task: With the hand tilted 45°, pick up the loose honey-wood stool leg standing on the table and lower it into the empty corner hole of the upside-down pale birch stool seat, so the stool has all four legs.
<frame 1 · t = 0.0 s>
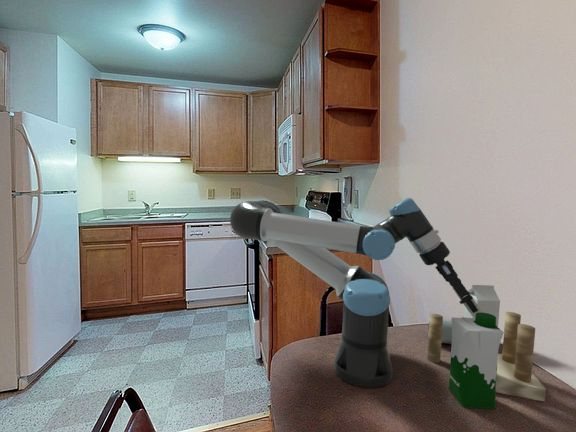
hand: (475, 312, 88), 15 cm above the table, tool tilted 35°, fingers open, 12 cm apart
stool: (494, 376, 84), on the table
loose leg: (433, 359, 92), on the table
ceramic mug: (440, 341, 105), on the table
milk carton: (479, 342, 105), on the table
soya milk: (470, 399, 74), on the table
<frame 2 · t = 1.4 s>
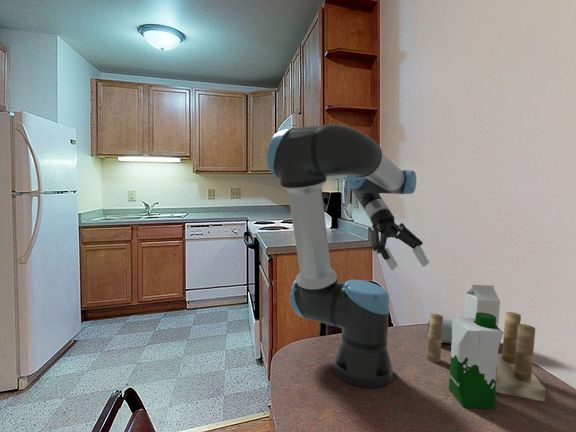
hand: (410, 266, 99), 25 cm above the table, tool tilted 45°, fingers open, 13 cm apart
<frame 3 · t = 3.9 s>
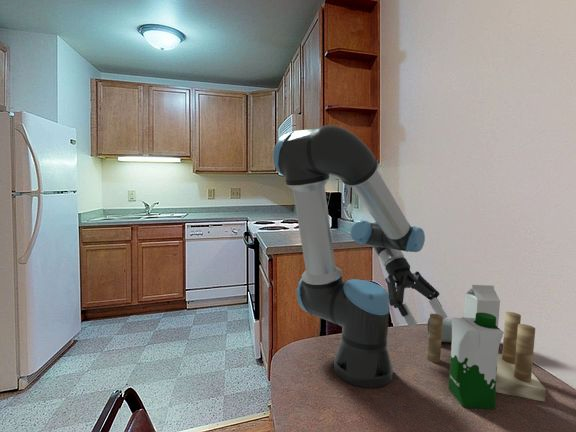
hand: (429, 322, 95), 9 cm above the table, tool tilted 45°, fingers open, 13 cm apart
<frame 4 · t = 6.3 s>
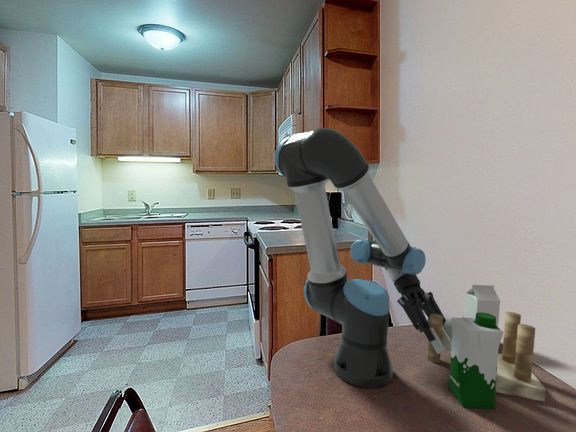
hand: (446, 350, 88), 4 cm above the table, tool tilted 45°, fingers closed on loose leg, 3 cm apart
loose leg: (433, 359, 92), on the table, touching gripper
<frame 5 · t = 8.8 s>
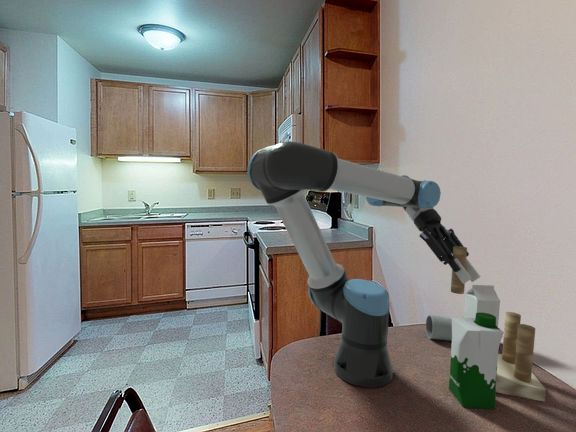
hand: (471, 280, 87), 25 cm above the table, tool tilted 45°, fingers closed on loose leg, 3 cm apart
loose leg: (457, 292, 91), point 20 cm above the table, touching gripper
when the fingers open (7 cm above the table, at t = 11.5 s): loose leg drops 2 cm, resting in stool.
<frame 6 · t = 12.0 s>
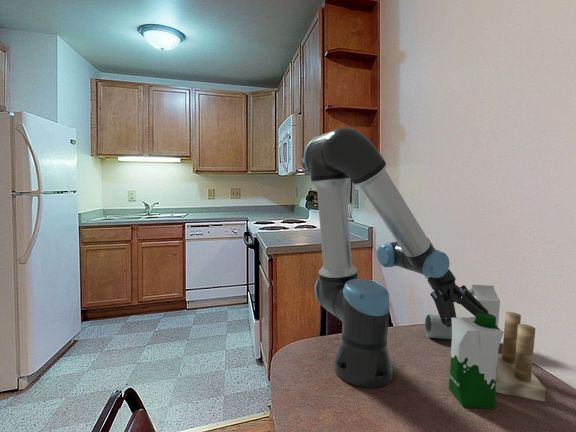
hand: (483, 343, 87), 7 cm above the table, tool tilted 45°, fingers open, 10 cm apart
loose leg: (471, 364, 90), resting in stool
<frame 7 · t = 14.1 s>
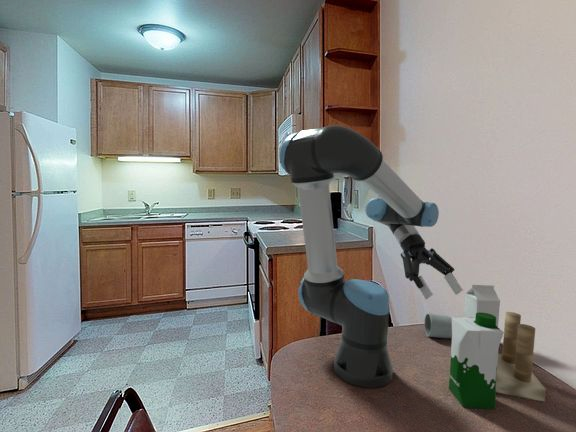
hand: (444, 294, 97), 17 cm above the table, tool tilted 45°, fingers open, 13 cm apart
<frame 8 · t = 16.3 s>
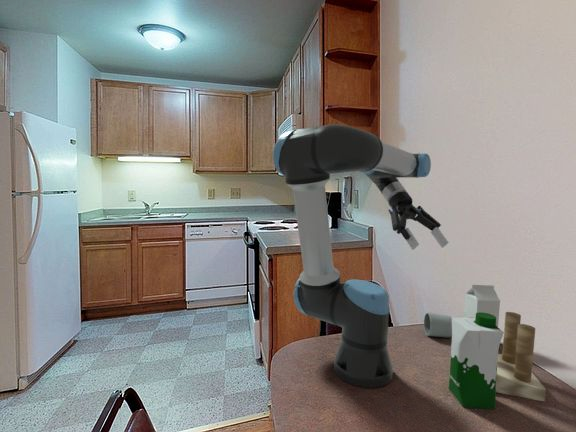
hand: (431, 246, 100), 32 cm above the table, tool tilted 45°, fingers open, 13 cm apart
at the end: loose leg 0.1 cm from the target spot on the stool, point 0.0 cm above the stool's base; loose leg tilted 0°; the gripper is holding nothing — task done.
